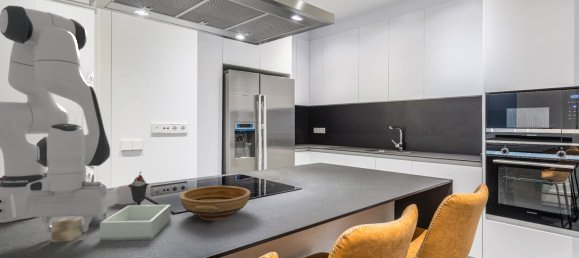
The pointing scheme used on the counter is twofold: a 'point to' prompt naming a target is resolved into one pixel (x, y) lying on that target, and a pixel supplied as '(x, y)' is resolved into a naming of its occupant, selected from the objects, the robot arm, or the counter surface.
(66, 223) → the maple cube
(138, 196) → the sundae
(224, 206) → the wooden bowl
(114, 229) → the tote
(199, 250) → the counter surface
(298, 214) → the counter surface
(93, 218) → the aluminium cylinder
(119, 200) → the candle
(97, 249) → the counter surface
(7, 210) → the robot arm
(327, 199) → the counter surface
